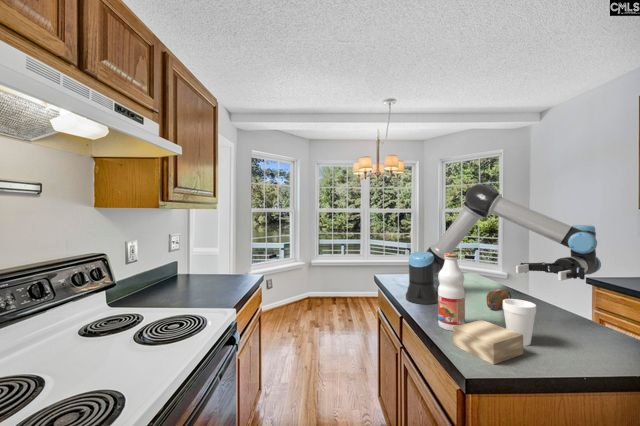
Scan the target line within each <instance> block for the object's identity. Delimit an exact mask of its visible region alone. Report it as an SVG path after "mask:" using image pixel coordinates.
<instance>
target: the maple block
mask: <svg viewBox="0 0 640 426" xmlns="http://www.w3.org/2000/svg"><path fill="white" fill-rule="evenodd" d="M452 344H453V346H455V347H457V348H459V349H461V350H463V351H465V352H467V353H469V354H471V355H473V356H475V357H477V358H480V359H481V360H483V361H485V362H487V363H490V364H492V365H496V364H499V363H502V362H505V361H508V360H510V359H513V358H516V357H519V356H522V355H524V346H523V334H520V333H517V332H514V331H511V330H509V329H506V327H503V326H499V325H497V324H494V323H492V322H489V321H485V320H483V319H480V320H476V321H471V322H470V321H469V322H468V323H467V322H465V324H462V325H458V326H454V327H453V331H452Z"/></svg>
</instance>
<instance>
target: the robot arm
mask: <svg viewBox="0 0 640 426" xmlns="http://www.w3.org/2000/svg"><path fill="white" fill-rule="evenodd" d="M464 197H465V201H464V202H463V204H462V205H463V209H462V210H461V211H460V212H459V214H458V215H457V217H456V218H455V219H454V220H453V222H451V224H450V225H449V227H448V228H447V230H445V232H444V233H443V235H442V236H441V237H440V238H439V240H437V242H436V244H431V245H430V246H429V247H428V249H427V250H426V251H425V250H423V251H414V252H411V253H410V254H409V256H408V277H409V278H408V279H409V280H408V287H407V291H406V293H405V300H406V301H408V302H409V303H414V304H416V305H417V304H419V305H433V304H438V294H437V291H436V288H435V284H434V283H435V281H434V279H435V277H434V276H435V275H438V274H439V272H440V270H441V269H442V268H443V265H444V262H445V258H444V254H445V253H453V252H454V251H455V249H456V248H457V247H458V246H459V245H460V243H461V242H462V241H463V240H464V239H465V238H466V236H467V235H468V234H469V232H470V231H471V230H472V229H473V228H474V226H475V225H476V224H477V223H478V221H479V220H480V219H485V218H486V217H487V216H488V215H496V216H497V217H500V218H501V219H504V220H507V221H509V222H511V223H514V224H515V225H518V226H520V227H523V228H525V229H527V230H528V231H531V232H533V233H535V234H538V235H540V236H542V237H543V238H547V239H549V240H551V241H554V242H555V243H557V244H560V245H562V246H564V247H566V248H568V249H570V256H566V257H561V258H557V259H556V260H555V261H554V262H544V261H542V262H520V264H519V265H515V273H516V274H522V273H529V272H545V273H546V274H547V273H548V274H549V273H550V274H551V273H552V274H557V277H558V278H557V279H558V281H565V280H571V279H574V280H575V279H578V278H579V279H580V280H583V281H584V280H585V278H586V276H585V275H591V274H594V273H596V272H599V270H601V267H602V262H601V260H600V259H599V257H597V252H596V249H597V246H598V240H597V238H596V237H597V232H596V227H595V226H594V225H592V224H591V225H590V224H589V225H588V224H587V225H586V224H579V225H578V224H577V225H576V224H574V225H569V224H566V223H565V222H562V221H560V220H557V219H555V218H552V217H550V216H548V215H545V214H543V213H541V212H538V211H535V210H533V209H531V208H528V207H525V206H523V205H521V204H519V203H517V202H515V201H511V200H510V199H509V200H508V199H506V198H504V197H503V196H502V194H501V193H500V192H499V191H498V190H497V189H496V188H495V187H493V186H492V185H486V184H483V183H481V184H480V183H479V184H475V185H472V186H470V187H469V188H468V189H467V191H466V193H465V196H464Z"/></svg>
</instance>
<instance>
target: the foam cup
mask: <svg viewBox="0 0 640 426" xmlns="http://www.w3.org/2000/svg"><path fill="white" fill-rule="evenodd" d="M502 310H503V314H504V321H505V322H504V323H505V328H506V329H509V330H511V331H514V332H517V333H520V334H523V347H525V346H526V347H527V346H530V345H531V342H532V336H533V330H534V324H535V317H536V313H537V305H536V303H533V302H531V301H529V300H523V299H517V298H511V299H505V300H503V309H502Z"/></svg>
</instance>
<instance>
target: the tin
mask: <svg viewBox="0 0 640 426" xmlns="http://www.w3.org/2000/svg"><path fill="white" fill-rule="evenodd" d="M505 299H512V295H511V292H510V290H509V289H507V288H497V289H494V290H489V291H488V293H487V295H486V306H487V307H488V309H491V310H493V311H501V310H504V309H503V300H505Z"/></svg>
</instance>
